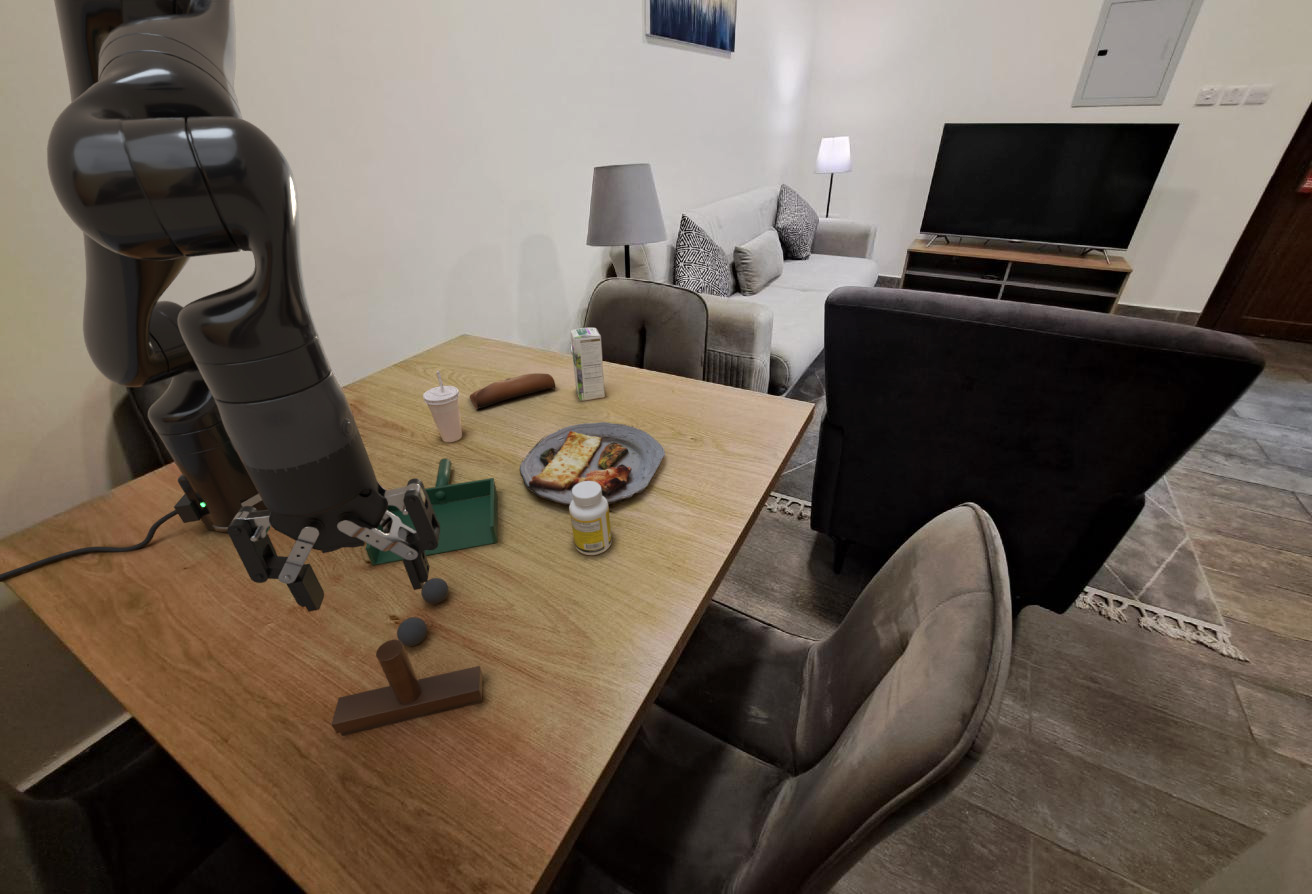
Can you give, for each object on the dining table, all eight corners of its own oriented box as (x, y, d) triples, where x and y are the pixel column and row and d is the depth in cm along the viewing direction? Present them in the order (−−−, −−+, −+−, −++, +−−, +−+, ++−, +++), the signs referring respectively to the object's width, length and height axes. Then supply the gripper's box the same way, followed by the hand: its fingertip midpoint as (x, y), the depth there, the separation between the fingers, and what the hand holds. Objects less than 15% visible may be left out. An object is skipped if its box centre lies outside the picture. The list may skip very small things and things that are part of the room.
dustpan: (497, 542, 77) (493, 526, 75) (372, 565, 74) (365, 548, 72) (497, 461, 96) (493, 446, 94) (397, 476, 92) (391, 461, 91)
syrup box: (575, 391, 120) (568, 329, 112) (600, 387, 121) (595, 326, 114) (580, 401, 115) (573, 338, 108) (606, 397, 117) (601, 334, 109)
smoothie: (458, 447, 100) (441, 379, 93) (428, 444, 101) (408, 377, 94) (475, 430, 106) (460, 365, 98) (446, 427, 107) (429, 363, 99)
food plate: (629, 526, 80) (628, 508, 78) (496, 498, 86) (492, 481, 84) (677, 443, 100) (677, 427, 98) (566, 426, 106) (564, 410, 104)
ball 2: (423, 611, 67) (416, 593, 65) (426, 593, 69) (419, 575, 67) (450, 606, 67) (444, 588, 66) (451, 588, 70) (446, 570, 68)
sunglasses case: (542, 376, 126) (544, 358, 121) (554, 399, 124) (557, 381, 118) (466, 395, 118) (465, 377, 112) (478, 420, 115) (477, 403, 110)
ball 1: (399, 654, 61) (391, 636, 59) (403, 632, 64) (395, 614, 62) (428, 648, 62) (421, 630, 60) (431, 627, 64) (424, 608, 63)
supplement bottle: (593, 526, 80) (587, 473, 75) (619, 541, 77) (615, 486, 72) (566, 545, 76) (558, 491, 71) (593, 562, 73) (586, 506, 68)
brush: (483, 703, 56) (464, 645, 51) (339, 738, 53) (304, 680, 48) (484, 679, 58) (466, 621, 53) (346, 711, 55) (313, 653, 50)
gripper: (409, 401, 43) (455, 549, 52) (212, 428, 40) (294, 580, 49) (395, 447, 37) (449, 607, 46) (161, 482, 34) (265, 646, 43)
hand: (369, 593), depth 47 cm, fingers open, 8 cm apart
